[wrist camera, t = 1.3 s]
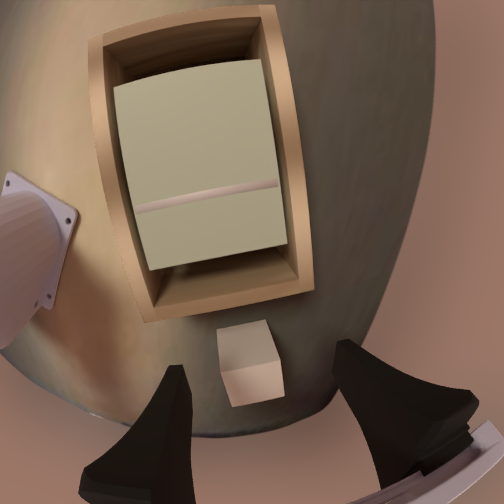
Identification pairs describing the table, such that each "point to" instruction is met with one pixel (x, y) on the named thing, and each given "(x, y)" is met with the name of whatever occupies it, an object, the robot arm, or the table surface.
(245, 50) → the box
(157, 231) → the pale grey flat block
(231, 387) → the pinkish beige block
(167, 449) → the robot arm
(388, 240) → the table surface
